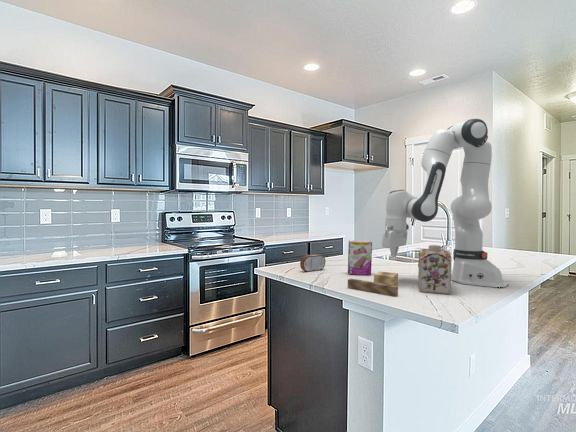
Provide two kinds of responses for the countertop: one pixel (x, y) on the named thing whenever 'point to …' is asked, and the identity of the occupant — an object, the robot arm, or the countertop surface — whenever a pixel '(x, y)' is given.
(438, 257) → the decorative jar
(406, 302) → the countertop surface
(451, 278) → the robot arm
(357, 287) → the walnut board
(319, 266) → the tin
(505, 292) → the countertop surface
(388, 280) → the oak block
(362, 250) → the candy bar box
